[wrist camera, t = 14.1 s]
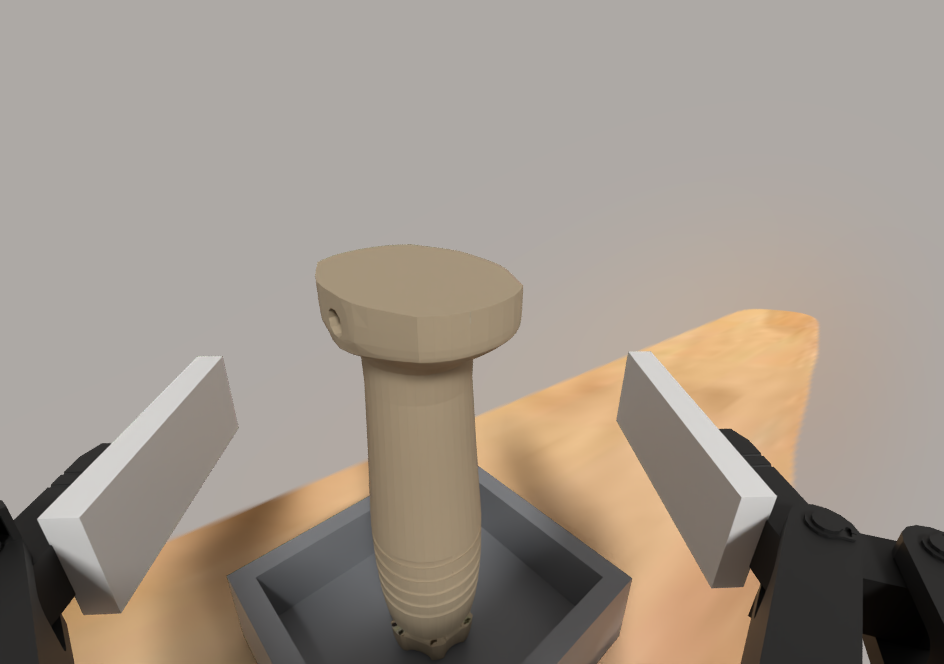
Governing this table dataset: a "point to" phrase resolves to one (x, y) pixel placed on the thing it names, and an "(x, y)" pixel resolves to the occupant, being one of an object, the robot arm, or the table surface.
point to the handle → (421, 418)
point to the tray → (494, 607)
